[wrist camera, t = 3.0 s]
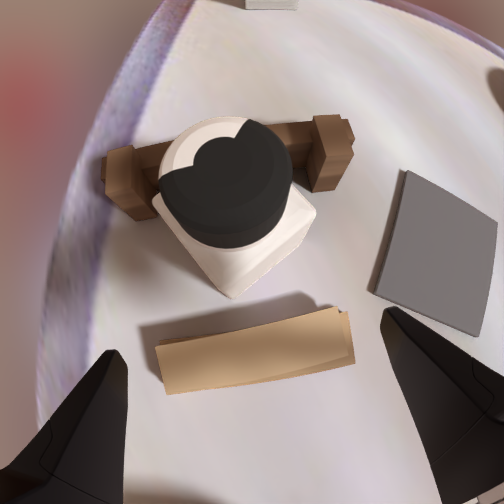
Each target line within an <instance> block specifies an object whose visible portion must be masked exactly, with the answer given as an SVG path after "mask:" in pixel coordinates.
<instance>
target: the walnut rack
mask: <svg viewBox="0 0 504 504" xmlns="http://www.w3.org/2000/svg"><path fill="white" fill-rule="evenodd" d="M264 126H266V127H268V128H269V129H270V130H272V131H273V132H274V133H275V134H276V135H277V136H278V137H279V138H280V139H281V140H282V141H283V143H284V144H285V146H286V148H287V150H288V152H289V155H290V157H291V162H292V168H300V167H306V171H307V175H308V179H309V183H310V187H311V191H312V193H315V192H323V191H332V190H335V188H336V186H337V185H338V183H339V181H340V179H341V177H342V176H343V174H344V172H345V170H346V168H347V167H348V165H349V163H350V161H351V159H352V157H353V155H354V153H353V150H352V147H351V146H352V144H353V142H354V140H355V137H354V134H353V132H352V129H351V126H350V124H349V121H348V119H341V117H340V114H338V115H318V116H313V120H312V121H305V122H293V123H282V124H273V125H264ZM173 141H174V140H173ZM173 141H168V142H163V143H159V144H154V145H150V146H146V147H142V148H138V149H135V148H134V147H133V145H129V146H125V147H121V148H118V149H114V150H111V151H108V152H107V157H104V158H102V167H101V180H102V181H103V182H104V183H105V194H106V195H107V196H108V197H109V198H110V199H111V200H112V201H114V202H115V203H116V204H117V205H118V206H119V207H120V208H121V209H122V210H124V211H125V212H126V213H127V214H128V215H129V216H130V217H131V218H133V219H134V220H135V221H141V220H146V219H151V218H156V217H158V215H157V210H156V209H155V207H154V206H153V204H152V199H153V198H154V197H155V196H156V195H157V194H156V190H159V181H158V178H159V169H160V165H161V162H162V159H163V156H164V155H165V153H166V151H167V149H168V148H169V146H170V145H171V144H172V142H173Z"/></svg>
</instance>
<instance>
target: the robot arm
mask: <svg viewBox="0 0 504 504" xmlns="http://www.w3.org/2000/svg"><path fill="white" fill-rule="evenodd" d="M380 331H381V334H382V337H383V340H384V343H385V346H386V350H387V353H388V356H389V359H390V363H391V366H392V369H393V371H394V374H395V376H396V378H397V381H398V383H399V385H400V388H401V390H402V392H403V395H404V397H405V400H406V402H407V405H408V407H409V410H410V412H411V415H412V417H413V420H414V422H415V425H416V427H417V430H418V433H419V435H420V438H421V441H422V444H423V446H424V449H425V452H426V455H427V458H428V460H429V463H430V467H431V470H432V473H433V476H434V479H435V482H436V485H437V488H438V491H439V494H440V498H441V501H442V504H463V503H465V502H467V501H469V500H471V499H473V498H475V497H477V499H478V502H477V503H476V504H504V376H502V375H500V374H499V373H497V372H495V371H493V370H492V369H490V368H489V367H487V366H485V365H484V364H482V363H481V362H479V361H478V360H476V359H475V358H474V357H471V355H469V354H468V353H466V352H465V351H463V350H462V349H460V348H459V347H457V346H456V345H454V344H453V343H451V342H450V341H448V340H447V339H445V338H444V337H442V336H441V335H439V334H438V333H436V332H435V331H433V330H432V329H430V328H429V327H427V326H426V325H424V324H423V323H421V322H420V321H418V320H417V319H415V318H413V317H412V316H410V315H409V314H407V313H406V312H404V311H403V310H401V309H400V308H398V307H396V306H392V307H388V308H385V309H384V311H383V315H382V319H381V324H380ZM127 411H128V368H127V364H126V363H125V361H124V359H123V358H122V356H121V355H120V353H119V352H118V351H117V350H115V349H113V350H106V351H105V352H104V353H103V354H102V355H101V356H100V357H99V358H98V360H97V361H96V362H95V363H94V364H93V366H92V367H91V368H90V369H89V370H88V372H87V373H86V374H85V375H84V376H83V378H82V379H81V380H80V381H79V382H78V384H77V385H76V386H75V387H74V389H73V390H72V391H71V392H70V393H69V395H68V396H67V397H66V398H65V400H64V401H63V402H62V403H61V405H60V406H59V407H58V408H57V410H56V411H55V412H54V413H53V415H52V416H51V417H50V420H48V421H47V422H46V424H45V425H44V426H43V427H42V429H41V430H40V431H39V432H38V434H37V435H36V436H35V437H34V438H33V439H32V440H31V442H30V443H29V444H28V445H27V446H26V447H25V448H24V449H23V450H22V451H21V452H20V454H19V455H18V456H17V457H16V458H15V459H14V460H13V461H12V462H11V463H10V464H9V465H8V466H7V467H5V468H3V469H1V470H0V504H123V473H124V451H125V435H126V423H127Z"/></svg>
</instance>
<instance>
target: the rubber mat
mask: <svg viewBox="0 0 504 504" xmlns="http://www.w3.org/2000/svg"><path fill="white" fill-rule="evenodd" d="M497 227H498V223H497V222H496V221H494V220H493V219H491V218H490V217H488V216H487V215H485V214H484V213H482V212H481V211H479V210H477V209H476V208H474V207H473V206H471V205H470V204H468V203H466V202H465V201H463V200H461V199H460V198H458V197H456V196H455V195H453V194H451V193H450V192H448V191H446V190H444V189H443V188H441V187H439V186H437V185H435V184H434V183H432V182H430V181H428V180H426V179H424V178H423V177H421V176H419V175H417V174H415V173H413V172H411V171H409V170H407V171H406V173H405V177H404V182H403V187H402V191H401V196H400V200H399V205H398V209H397V213H396V217H395V221H394V225H393V229H392V233H391V237H390V240H389V244H388V247H387V251H386V255H385V258H384V261H383V265H382V268H381V271H380V275H379V278H378V281H377V284H376V287H375V290H374V293H373V294H374V295H376V296H379V297H381V298H383V299H386V300H388V301H390V302H393V303H395V304H398V305H400V306H402V307H405V308H407V309H410V310H412V311H414V312H417V313H419V314H421V315H424V316H426V317H428V318H431V319H433V320H436V321H438V322H440V323H443V324H445V325H447V326H450V327H452V328H454V329H457V330H459V331H461V332H464V333H466V334H469V335H471V336H473V337H479V334H480V330H481V326H482V322H483V318H484V314H485V309H486V305H487V300H488V295H489V290H490V284H491V278H492V272H493V265H494V257H495V249H496V239H497Z"/></svg>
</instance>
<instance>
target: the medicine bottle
mask: <svg viewBox="0 0 504 504" xmlns="http://www.w3.org/2000/svg"><path fill="white" fill-rule="evenodd" d="M292 175H293V169H292V162H291V157H290V155H289V152H288V150H287V148H286V146H285V144H284V143H283V141H282V140H281V139H280V138H279V137H278V136H277V135H276V134H275V133H274V132H273V131H272V130H270V129H269V128H268V127H266V126H264V125H262V124H261V123H259V122H256V121H253V120H251V119H246V118H242V117H233V116H223V117H216V118H211V119H207V120H205V121H202V122H199V123H197V124H195V125H193V126H192V127H190V128H188V129H187V130H185V131H184V132H183V133H182V134H180V135H179V136H178V137H177V138H176V139H175V140H174V141H173V142H172V144H171V145H170V146H169V148H168V149H167V151H166V153H165V155H164V156H163V159H162V162H161V165H160V169H159V178H158V181H159V190H160V193H158V194H157V195H156V196H155V197H154V198H153V199H152V204H153V206H154V207H155V209H156V210H157V211H158V213H159V214H160V215H161V217H162V218H163V219H164V221H165V222H166V223H167V225H168V226H169V227H170V229H171V230H172V231H173V233H174V234H175V235H176V237H177V238H178V239H179V240H180V242H181V243H182V244H183V246H184V247H185V248H186V249H187V251H188V252H189V253H190V255H191V256H192V257H193V258H194V260H195V261H196V262H197V264H198V265H199V266H200V267H201V269H202V270H203V271H204V272H205V274H206V275H207V276H208V277H209V279H210V280H211V281H212V282H213V284H214V285H215V286H216V287H217V289H219V290H220V291H221V292H222V293H223V294H225V295H226V296H227V297H228V298H229V299H235V298H237V297H238V296H239V295H240V294H241V293H243V292H244V291H245V290H246V289H248V288H249V287H250V286H251V285H252V284H254V283H255V282H256V281H257V280H258V279H260V278H261V277H262V276H263V275H265V274H266V273H267V272H268V271H269V270H271V269H272V268H273V267H274V266H275V265H277V264H278V263H279V262H280V261H281V260H282V259H284V258H285V257H286V256H287V255H288V254H290V253H291V252H292V251H293V250H294V249H296V248H297V247H298V246H299V245H300V244H301V242H302V240H303V239H304V237H305V235H306V233H307V231H308V229H309V228H310V226H311V224H312V222H313V220H314V218H315V216H316V210H315V208H314V207H313V206H312V205H311V204H310V203H309V202H308V201H307V200H306V198H305V197H304V196H303V195H302V194H301V193H300V192H299V191H298V190H297V189H296V188H295V187H294V186H293V185H292V184H291V183H292Z"/></svg>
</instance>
